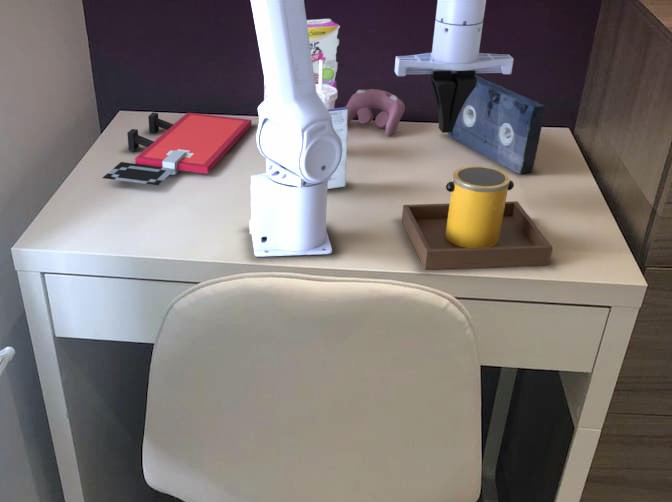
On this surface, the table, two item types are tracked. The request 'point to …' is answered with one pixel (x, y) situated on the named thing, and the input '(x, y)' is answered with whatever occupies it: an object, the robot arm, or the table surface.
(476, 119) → the vhs cassette tape
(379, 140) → the table surface
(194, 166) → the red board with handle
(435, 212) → the tray
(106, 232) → the table surface
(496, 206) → the pot
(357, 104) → the video game controller
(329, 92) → the smoothie
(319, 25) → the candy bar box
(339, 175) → the ink box
